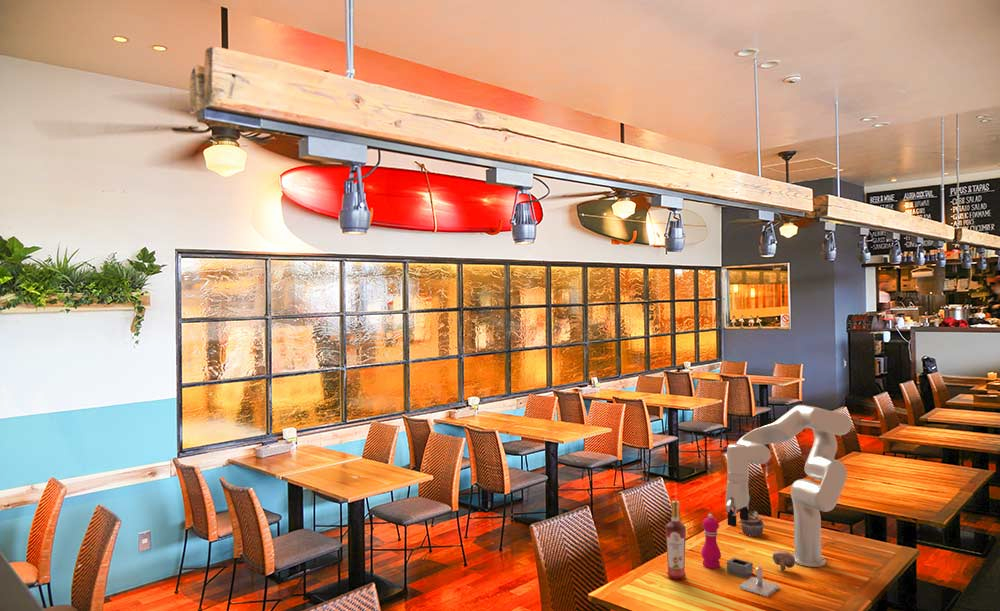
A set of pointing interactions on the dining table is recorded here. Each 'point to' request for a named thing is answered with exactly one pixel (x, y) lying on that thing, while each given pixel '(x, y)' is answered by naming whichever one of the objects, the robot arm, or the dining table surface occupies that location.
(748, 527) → the cupcake
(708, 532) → the pepper mill
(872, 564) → the dining table surface
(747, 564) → the grey rectangular frame
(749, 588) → the keeper
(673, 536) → the liquor
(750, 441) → the robot arm
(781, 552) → the mushroom
